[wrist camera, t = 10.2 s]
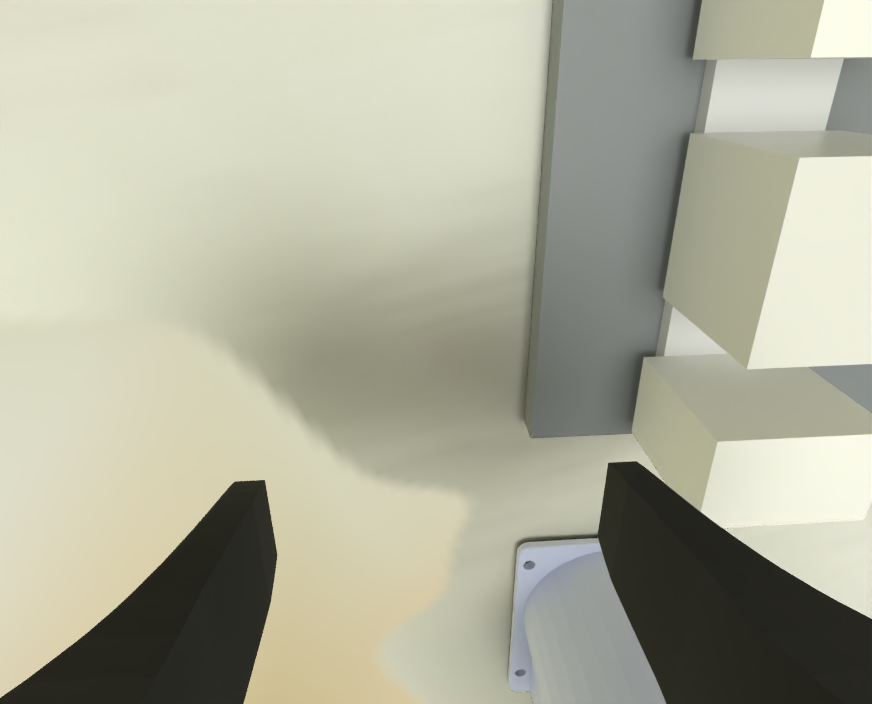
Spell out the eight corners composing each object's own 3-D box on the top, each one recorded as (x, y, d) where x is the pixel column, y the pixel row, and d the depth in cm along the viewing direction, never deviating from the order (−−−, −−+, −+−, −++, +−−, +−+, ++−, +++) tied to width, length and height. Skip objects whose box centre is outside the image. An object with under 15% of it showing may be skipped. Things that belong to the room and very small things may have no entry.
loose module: (797, 292, 19) (920, 361, 15) (662, 297, 19) (746, 369, 15) (841, 130, 17) (1002, 153, 13) (690, 132, 17) (799, 157, 12)
